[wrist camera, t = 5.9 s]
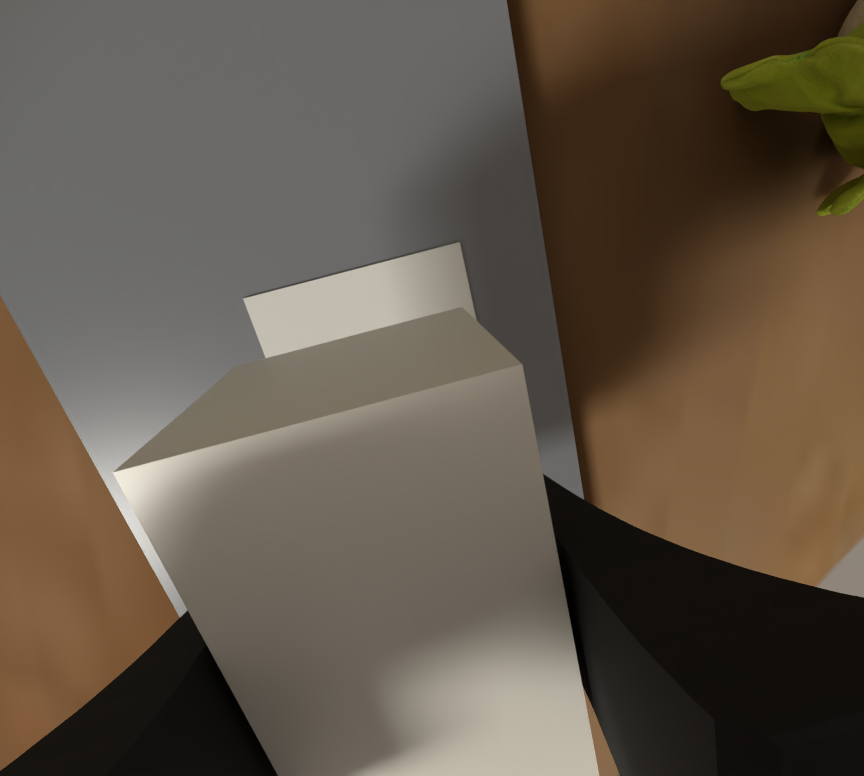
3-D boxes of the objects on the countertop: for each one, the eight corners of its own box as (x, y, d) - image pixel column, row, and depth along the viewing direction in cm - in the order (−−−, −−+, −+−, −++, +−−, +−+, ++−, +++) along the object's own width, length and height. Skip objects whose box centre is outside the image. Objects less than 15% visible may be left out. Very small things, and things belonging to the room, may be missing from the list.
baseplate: (255, 725, 21) (250, 747, 20) (-211, -136, 11) (-263, -169, 10) (599, 632, 21) (608, 649, 20) (449, -299, 11) (454, -345, 10)
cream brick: (362, 675, 12) (349, 906, 8) (236, 366, 9) (112, 473, 5) (533, 629, 12) (610, 834, 8) (461, 306, 9) (522, 363, 5)
